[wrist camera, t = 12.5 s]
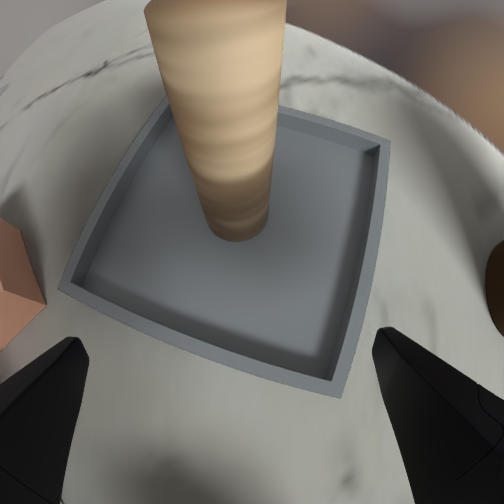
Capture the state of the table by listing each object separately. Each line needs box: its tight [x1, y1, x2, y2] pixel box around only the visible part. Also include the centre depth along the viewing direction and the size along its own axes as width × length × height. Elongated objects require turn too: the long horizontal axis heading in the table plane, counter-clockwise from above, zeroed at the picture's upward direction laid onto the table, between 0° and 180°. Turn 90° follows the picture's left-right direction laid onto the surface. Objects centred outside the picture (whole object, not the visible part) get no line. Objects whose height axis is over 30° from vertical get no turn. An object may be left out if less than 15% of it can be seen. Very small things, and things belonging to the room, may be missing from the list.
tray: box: [58, 95, 391, 399], centre depth 19 cm, size 18×18×2 cm
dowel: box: [144, 0, 287, 242], centre depth 12 cm, size 4×4×14 cm
